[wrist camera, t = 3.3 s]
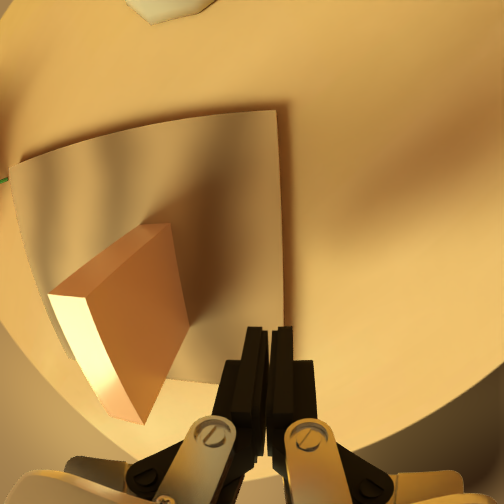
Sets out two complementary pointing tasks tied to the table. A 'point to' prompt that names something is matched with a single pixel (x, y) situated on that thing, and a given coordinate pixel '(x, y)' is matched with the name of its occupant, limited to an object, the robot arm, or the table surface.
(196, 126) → the board
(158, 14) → the flask
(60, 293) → the tile
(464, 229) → the table surface
